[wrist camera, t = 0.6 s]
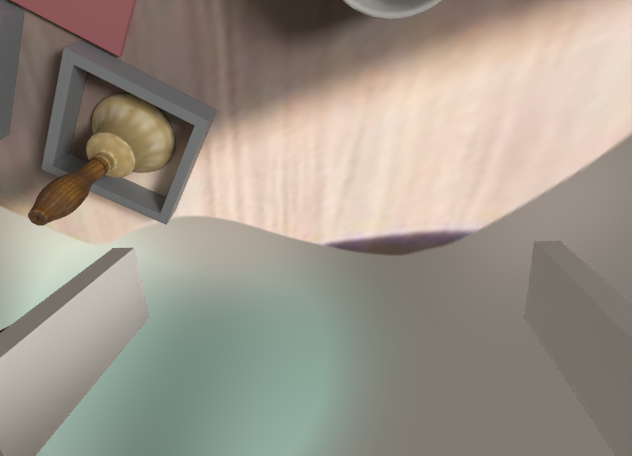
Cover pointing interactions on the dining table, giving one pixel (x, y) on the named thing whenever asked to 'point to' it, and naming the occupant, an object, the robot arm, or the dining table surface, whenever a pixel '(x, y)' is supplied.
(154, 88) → the bell tray
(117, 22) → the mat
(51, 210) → the hand bell
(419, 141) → the dining table surface
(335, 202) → the dining table surface
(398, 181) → the dining table surface
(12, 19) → the tray
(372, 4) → the teacup
